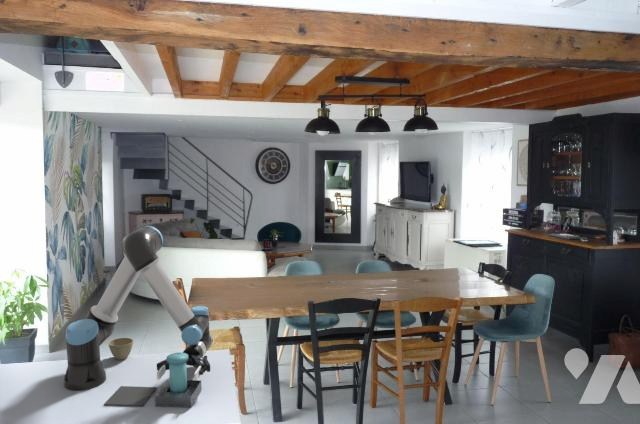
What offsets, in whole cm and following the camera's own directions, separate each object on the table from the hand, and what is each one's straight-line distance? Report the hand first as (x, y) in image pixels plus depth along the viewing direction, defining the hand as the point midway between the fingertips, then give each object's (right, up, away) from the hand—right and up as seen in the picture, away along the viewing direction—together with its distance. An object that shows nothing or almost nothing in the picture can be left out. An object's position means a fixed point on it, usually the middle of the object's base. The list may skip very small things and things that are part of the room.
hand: (176, 376), depth 197 cm
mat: (-18, -9, +5) cm, 21 cm away
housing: (0, -9, +4) cm, 10 cm away
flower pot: (-34, -4, +41) cm, 54 cm away
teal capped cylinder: (0, -9, +4) cm, 10 cm away
